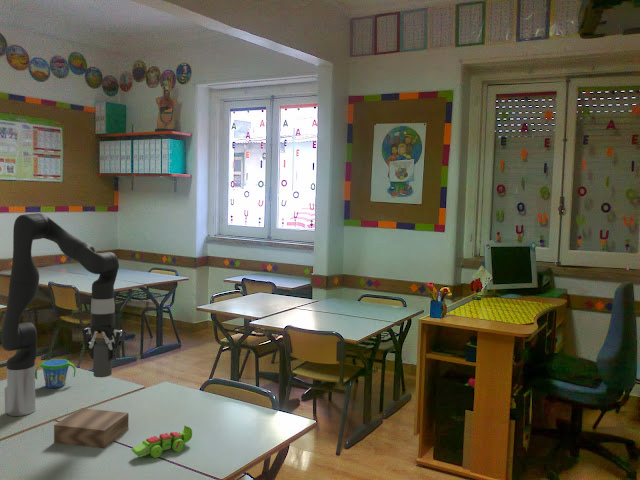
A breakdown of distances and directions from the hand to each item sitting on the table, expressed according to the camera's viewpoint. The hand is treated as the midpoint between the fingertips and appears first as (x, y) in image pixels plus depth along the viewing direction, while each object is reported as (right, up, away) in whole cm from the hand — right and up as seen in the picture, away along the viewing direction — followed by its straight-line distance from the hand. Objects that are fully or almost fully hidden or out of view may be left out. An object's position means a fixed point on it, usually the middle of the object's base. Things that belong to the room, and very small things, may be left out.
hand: (102, 358), depth 189 cm
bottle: (0, -6, +1) cm, 6 cm away
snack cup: (-38, -21, +45) cm, 62 cm away
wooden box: (-2, -26, -3) cm, 26 cm away
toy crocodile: (+24, -27, -12) cm, 38 cm away
